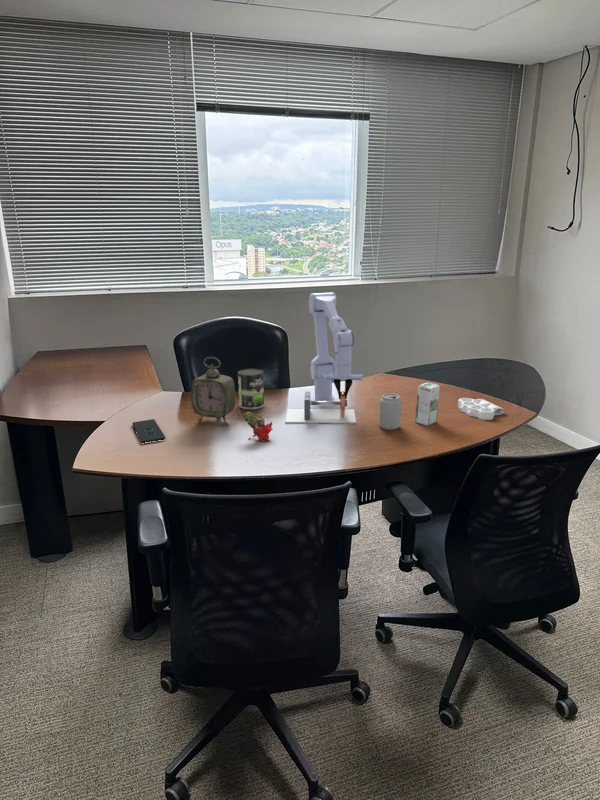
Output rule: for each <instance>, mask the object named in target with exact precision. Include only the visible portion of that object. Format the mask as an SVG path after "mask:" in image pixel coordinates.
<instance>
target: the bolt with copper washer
mask: <svg viewBox="0 0 600 800" xmlns="http://www.w3.org/2000/svg"><path fill="white" fill-rule="evenodd" d="M340 393H341V399H339V401H338V400H333V401H314V400H311V399H310V407H311V406H339V409H340V415H345V409H346V408H347V407H348V399H345V390H344V391H343V390H340Z"/></svg>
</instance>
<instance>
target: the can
mask: <svg viewBox="0 0 600 800" xmlns="http://www.w3.org/2000/svg"><path fill="white" fill-rule="evenodd" d="M401 412H402V399H401V397H400V395H399V394H397V393H384V394H382V395H381V398H380V400H379V417H378V418H379V420H378V421H379V422H378V426H379V427H381V429H383V430H387V431H394V430H398V428H400V427H401V417H402V413H401Z"/></svg>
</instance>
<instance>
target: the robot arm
mask: <svg viewBox="0 0 600 800" xmlns="http://www.w3.org/2000/svg"><path fill="white" fill-rule="evenodd" d="M336 305H337V296H336V293H335V292H334V291H331V292H316V293H315V292H311V293H310V295H309V297H308V311H309V314H310V315H312V316H313V323H314V334H315V337H314V338H315V348H316V349H315V351H316V355H315V357H314V358H313V359H312V360H311V361H310V370H309V373H310V377H311V379H313V380H314V395H315V397H314V396H313V401H334V398H333V397H334V395H333V384H334V386H335V389H336V391H337V395H338V400H340V399H341V393H340V392H341V389H342V388H341V385H342V383H341V381H344V386H345V387H344V388H345V389H344V391H345V400H348V394H349V391H350V389H351V386H352V385H353V381H360V382H362V381H364V380H363V378H364V375H363V374H361V373H359V374H357V373H352V347H353V346H355V345H354V344H355V335H354V332H353V330H351V329H350V328H349V329H348V327H347V325H346V322H345V321H344V319H343V317H341V316H339V314H338V310H337V308H336ZM327 319H328V320H329V322H328V327H329V329H330V331H331V333H332V335H333V339H332V340H333V347H334V348H333V349H334V352H335V359H334V358H333V357H331V356H330V355H329V343H328V330H327V329H328V328H327Z"/></svg>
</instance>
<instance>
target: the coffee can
mask: <svg viewBox="0 0 600 800" xmlns="http://www.w3.org/2000/svg"><path fill="white" fill-rule="evenodd" d="M237 381H238V383H237V385H238V386H237V387H238V403H239V404H238V405H239V408H241V409H245V410H258V409H261V408H263V407H264V406H265V395H264V394H265V391H264V389H265V388H264V387H265V386H264V370H262V369H259V368H244V369H241V370H238V371H237Z"/></svg>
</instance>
